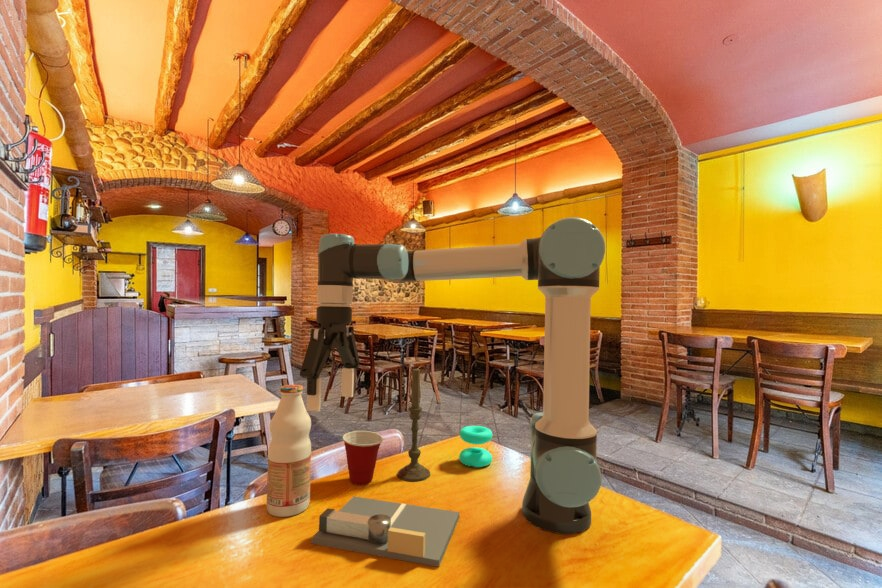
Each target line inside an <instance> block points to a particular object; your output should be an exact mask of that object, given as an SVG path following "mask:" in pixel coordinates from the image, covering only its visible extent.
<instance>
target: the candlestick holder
mask: <svg viewBox="0 0 882 588" xmlns="http://www.w3.org/2000/svg"><path fill="white" fill-rule="evenodd" d="M411 372H412V373H411V406H409V407H408V411H409V412H410V413H409V416H408V417H409V419H411V421H412V422H411V429H410V430H411V441H412V442H411V448H410V449H409V450H408V451H407V452H408V457H409V458H410V462H409V463H408V464H406V465H404V466H403V467H402V468H400V469H399V470H398V472H397V477H399V479H401V480H403V481H406V482H422V481H425V480H426V479H428V478H429V477H430V476H431V471H430V469H428V468H427V467H425V466H424V465H422V464H420V463H419V458H420V456H421V449H419V447H418V441H419V440H418V434H419V433H418V432H419V428H420V427H419V423H418V421H420V419H421V418H422V414H421V412H422V411H423V407H422V406H420V392H421V391H420V390H421V389H420V388H421V387H420V385H421V383H420V382H421V379H420V378H421V377H420V376H421V369H419V368H416V367H414V369H413V368H412V370H411ZM424 479H425V480H424ZM421 480H422V481H421Z"/></svg>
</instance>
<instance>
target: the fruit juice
mask: <svg viewBox="0 0 882 588" xmlns="http://www.w3.org/2000/svg"><path fill="white" fill-rule="evenodd" d="M303 391H304V387H303V385H301V384H286V385H282V386H280V395H281V397H280V400H279V402H278V405H277V408H276V411H275V413H274V414H273V416H272V418H271V419H270V421H269V433H270V436H271V440H270V442H269V445H268V451H267V478H266V479H267V481H266V512H268V514H269V515H271V516H273V517H278V518H287V517H288V518H289V517H291V516H296V515H298V514H301V513H304V511H306V510H307V508H308V507H309V505H310V500H311V466H312V460H311V459H312V442H311V439H310V433H311V432H310V431H311V427H312V419H311V416H310V414H309V413H308V411H307V407H306V406H305V403H304V400H303V397H302V395H303Z"/></svg>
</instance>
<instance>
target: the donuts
mask: <svg viewBox="0 0 882 588" xmlns="http://www.w3.org/2000/svg"><path fill="white" fill-rule="evenodd" d="M459 438H460V439H461V440H462V441H463V442H465V443H467V444H472V445H484V444H486V443H488V442H490V441H491V440H492V439H493V432H492V430H491V429H490V428H489V427H486V426H482V425H467V426H465V427H462V428H461V429H460V430H459ZM458 459H459V461H460V462H461V464H463V465H464V464H465V465H464V466H466V465H468V466H467V467H470V466H475V467H474V468H483V467H482V466H485V467H487V466H489V465H490V464H491V463H492V461H493V455H492V454H491V452H489V451H488V450H487V449H485V448H482V447H477V446H476V447H475V446H472V447H467V448H465V449H464V448H463V450H461V451H460V453H459V456H458ZM486 465H487V466H486Z"/></svg>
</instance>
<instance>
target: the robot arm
mask: <svg viewBox="0 0 882 588" xmlns="http://www.w3.org/2000/svg"><path fill="white" fill-rule="evenodd" d="M604 238H605V237H604V236H603V233H602V232H601V230H600V229H599V228H598V227H597V226H596V225H595V224H593V223H592V222H591V221H589V220H587V219H585V218H581V217H574V216H573V217H565V218H561V219H558V220H557V221H555V222H553V223H552V224H550V225H548V227H547V228H545V230H544V231H543V233H542V234H541V236H540V237H536V238H535V237H534V238H524V239H523V240H522V241H521V242H520V243H516V244H515V243H514V244H513V243H511V244H499V245H483V246H482V245H481V246H468V247H465V246H464V247H452V248H451V247H450V248H437V249H436V248H435V249H422V250H421V249H418V250H407V248H406V247H405V246H404V245H402V244H393V243H381V244H379V243H377V244H375V243H373V244H369V243H368V244H367V243H366V244H365V243H364V244H357V243H355V238H354V236H352V235H349V234H345V233H326V234H323V235H321V236H320V238H319V243H318V253H317V261H318V262H317V291H316V294H317V295H316V297H317V300H316V303H317V304H319V306H317V307H316V319H315V322H316V323H317V324H320V328H312V329H310V338H309V342H308V346H307V348H306V351H305V355H304V359H303V360H302V361H303V362H302V365H301V367H300V372H299V376H300V377H302V379H306V396H307V397H306V411H307V412H308V411H309V412H317V413H318V412H320V411H321V409H322V406H321V405H322V404H321V403H322V402H321V401H322V378H320V375H321V373H322V371H323V369H324V367H325V364H326V362H327V361H328V360H327V359H328V358H329V355H330V353H331V352H333V351H334V349H336V351H337V353H338V355H339V357H340V360H341V361H342V364H343V366H344V367H343V368H341V390H340V391H341V393H340V394H341V395H340V396H341V397H345V398H353V397H354V389H355V388H354V385H355V384H354V382H355V369H358V368H359V364H360V357H359V352H358V348H357V344H356V338H355V329H354V326H350V325H348V324H351V323H352V321H353V320H352V318H353V308H352V307H351V306H350V305H352V304H353V290H354V289H353V287H354V285H353V283H354V279H355V280H356V279H357V280H358V279H359V280H360V279H365V280H366V279H367V280H381V281H387V282H390V283H393V284H404V283H411V282H424V281H425V282H427V281H430V282H431V281H448V280H468V279H470V280H473V279H490V278H508V277H509V278H511V277H512V278H513V277H521V278H522V279H524V280H525V281H537V289H538V290H539V291H540V292H541V293H542V295H544V298H545V299H544V300H545V302H544V347H543V348H544V349H543V350H544V351H543V352H544V354H543V397H542V398H543V404H542V407H543V409H542V411H541V412H536V413H534V414H532V416H531V418H530V419H531V420H530V423H529V427H530V468H529V469H530V475H529V476H530V477H529V481H528V484H527V486H526V487H527V488H526V490H525V493H524V496H523V499H522V504H521V507H522V508H521V509H522V511H521V512H522V516H523V517H524V519H525V520H526V521H527V522H529V524H531V525H532V526H534V527H537V528H539V529H542V530H544V531H547V532H551V533H555V534H567V535H568V534H577V533H581V532H584V531H587V530H588V529H589V528H590V527H591V524H592V510H591V506H590V504H589V502H591V501H592V500H594V498H595V497H596V496H597V495H598V493H599V491H600V489H601V486H602V471H601V467H600V465H599V462H598V461H597V455H598V453H597V452H598V451H597V447H598V446H597V443H598V441H597V439H598V438H597V437H598V435H597V434H598V430H597V429H596V428H595V427H594V426H593V425H592V423H590V422H591V421H590V420H589V419H590V418H589V413H590V411H589V410H590V409H589V408H590V364H591V363H590V361H591V359H590V357H591V356H590V353H591V306H592V305H591V303H592V300H591V299H592V297H593V296H594V295H595V294H596V293H597V292H598V291H600V273H601V272H600V271H601V269H600V268H601V267H600V266H601V265H602V262H603V261H604V259H605V254H606V242H605V239H604Z"/></svg>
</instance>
